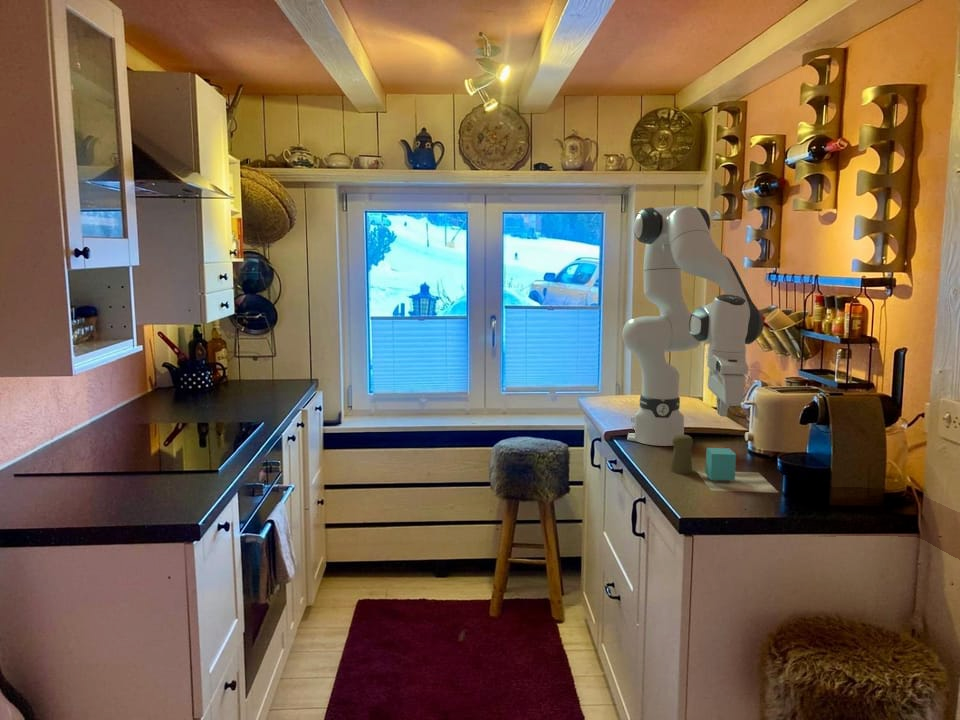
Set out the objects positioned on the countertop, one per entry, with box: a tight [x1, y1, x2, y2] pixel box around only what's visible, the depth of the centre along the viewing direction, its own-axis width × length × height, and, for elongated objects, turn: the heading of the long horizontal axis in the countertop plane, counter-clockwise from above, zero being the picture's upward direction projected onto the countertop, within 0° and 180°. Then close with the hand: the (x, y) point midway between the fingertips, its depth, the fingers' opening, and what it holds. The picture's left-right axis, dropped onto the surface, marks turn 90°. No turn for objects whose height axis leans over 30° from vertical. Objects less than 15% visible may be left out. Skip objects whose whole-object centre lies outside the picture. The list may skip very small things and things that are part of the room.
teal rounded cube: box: [704, 447, 737, 481], centre depth 183 cm, size 6×6×7 cm
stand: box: [696, 470, 779, 494], centre depth 183 cm, size 16×16×8 cm
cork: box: [669, 434, 694, 475], centre depth 191 cm, size 6×6×11 cm
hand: (721, 415), depth 184 cm, fingers closed
